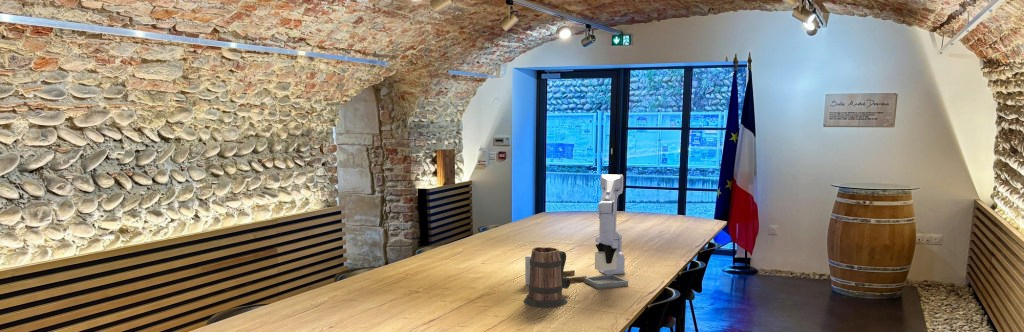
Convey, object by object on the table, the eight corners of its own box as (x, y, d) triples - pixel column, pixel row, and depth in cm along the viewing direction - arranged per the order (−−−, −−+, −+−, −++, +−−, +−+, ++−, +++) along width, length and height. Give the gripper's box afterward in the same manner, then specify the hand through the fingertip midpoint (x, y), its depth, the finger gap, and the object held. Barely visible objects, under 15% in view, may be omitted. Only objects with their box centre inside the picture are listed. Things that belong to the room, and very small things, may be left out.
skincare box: (541, 283, 270) (541, 255, 269) (538, 286, 266) (538, 257, 265) (528, 282, 272) (528, 254, 271) (524, 284, 268) (524, 256, 267)
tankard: (549, 310, 232) (550, 256, 231) (514, 302, 243) (513, 250, 241) (586, 296, 250) (586, 246, 248) (551, 289, 261) (551, 240, 259)
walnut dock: (573, 274, 285) (573, 270, 285) (586, 280, 274) (586, 276, 274) (552, 276, 281) (552, 272, 281) (564, 283, 270) (564, 278, 270)
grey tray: (612, 279, 277) (613, 274, 277) (628, 285, 266) (628, 281, 266) (584, 282, 272) (584, 277, 272) (598, 289, 261) (598, 284, 260)
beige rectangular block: (613, 266, 272) (613, 250, 271) (618, 268, 268) (618, 252, 268) (594, 268, 268) (594, 252, 268) (599, 270, 265) (599, 254, 264)
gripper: (589, 227, 272) (589, 259, 273) (606, 233, 259) (606, 266, 260) (603, 226, 275) (603, 257, 276) (622, 232, 261) (621, 265, 262)
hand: (606, 262), depth 268 cm, fingers closed on beige rectangular block, 4 cm apart
